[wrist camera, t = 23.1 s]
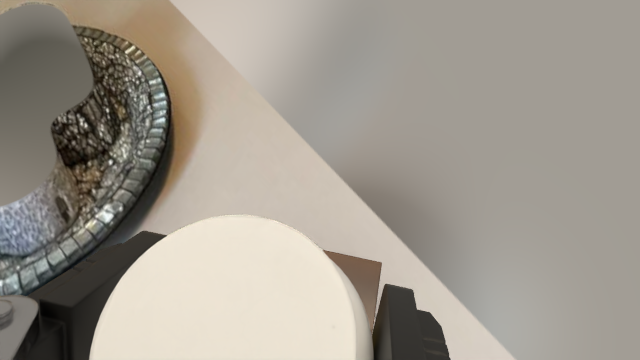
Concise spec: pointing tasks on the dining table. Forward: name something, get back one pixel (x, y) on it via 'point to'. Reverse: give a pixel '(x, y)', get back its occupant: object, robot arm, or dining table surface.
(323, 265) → the pill bottle
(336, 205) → the dining table surface
